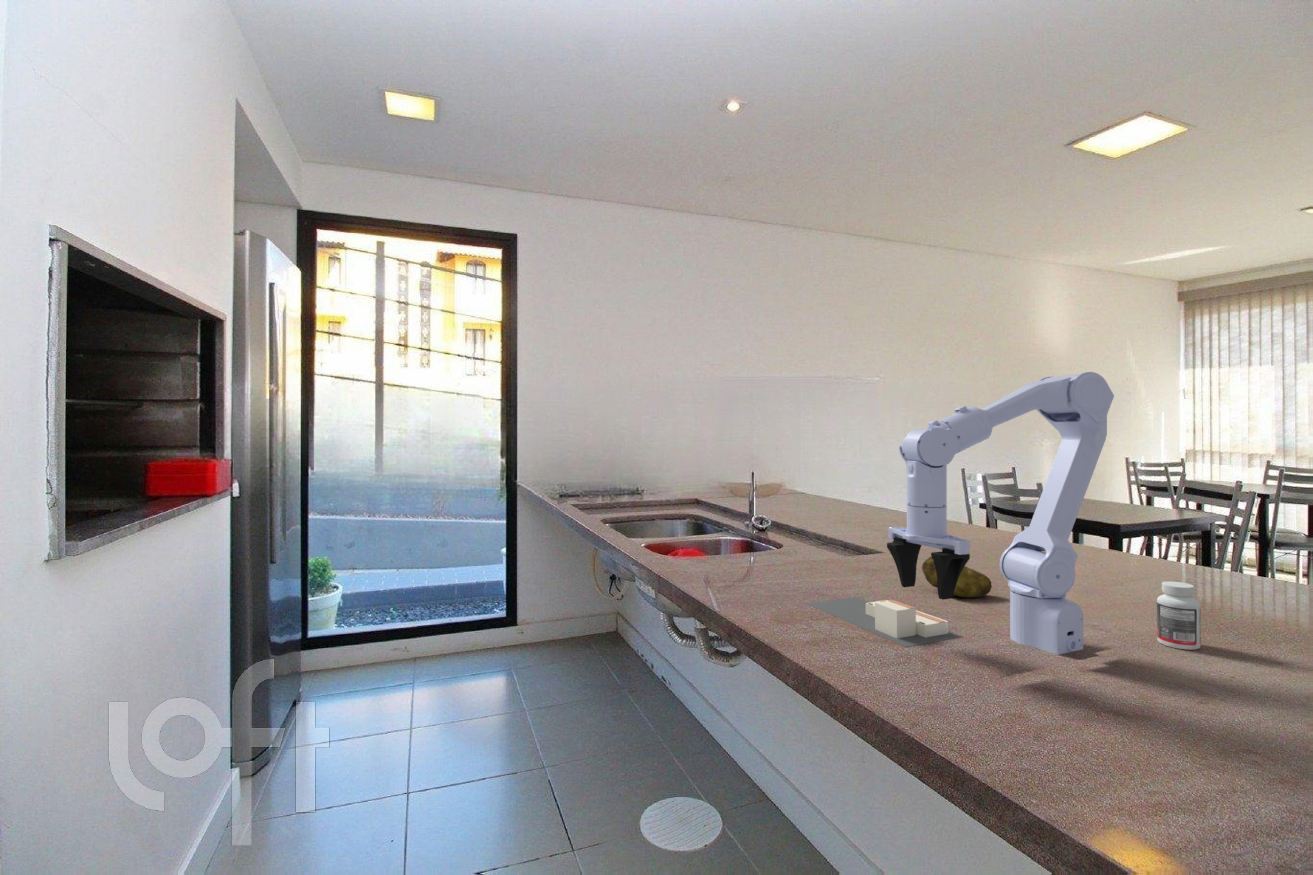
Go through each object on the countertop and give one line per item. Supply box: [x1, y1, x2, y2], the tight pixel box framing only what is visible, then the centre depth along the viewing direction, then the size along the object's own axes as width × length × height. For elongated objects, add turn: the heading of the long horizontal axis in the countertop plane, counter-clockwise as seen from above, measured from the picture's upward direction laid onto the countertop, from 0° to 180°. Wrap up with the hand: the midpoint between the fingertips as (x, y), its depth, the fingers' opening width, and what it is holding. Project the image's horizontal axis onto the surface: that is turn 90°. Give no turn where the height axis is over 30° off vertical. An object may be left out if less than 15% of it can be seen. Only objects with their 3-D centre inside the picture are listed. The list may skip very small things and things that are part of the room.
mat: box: [805, 596, 964, 648], centre depth 109 cm, size 26×12×1 cm, turn 22°
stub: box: [875, 599, 917, 638], centre depth 102 cm, size 5×4×5 cm
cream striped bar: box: [866, 599, 949, 638], centre depth 106 cm, size 14×5×2 cm, turn 22°
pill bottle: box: [1156, 580, 1202, 651], centre depth 98 cm, size 5×5×10 cm
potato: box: [921, 556, 993, 599], centre depth 128 cm, size 8×13×8 cm, turn 54°
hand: (926, 592), depth 95 cm, fingers open, 7 cm apart
